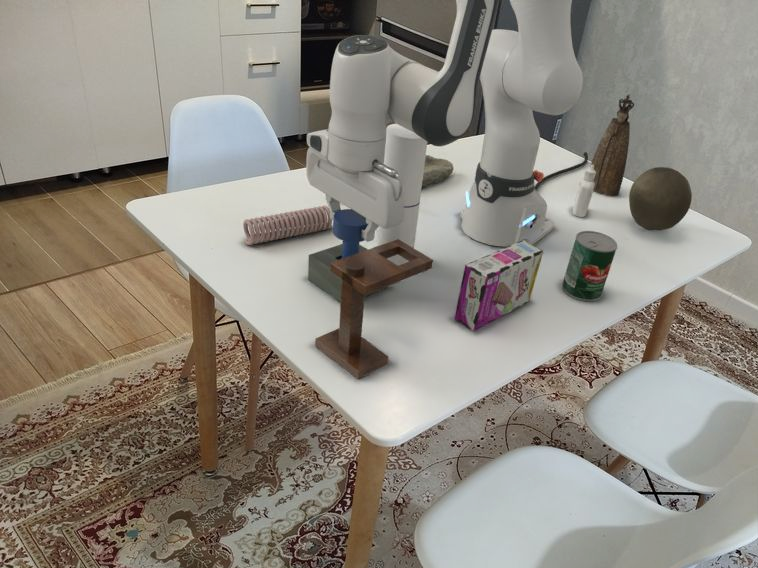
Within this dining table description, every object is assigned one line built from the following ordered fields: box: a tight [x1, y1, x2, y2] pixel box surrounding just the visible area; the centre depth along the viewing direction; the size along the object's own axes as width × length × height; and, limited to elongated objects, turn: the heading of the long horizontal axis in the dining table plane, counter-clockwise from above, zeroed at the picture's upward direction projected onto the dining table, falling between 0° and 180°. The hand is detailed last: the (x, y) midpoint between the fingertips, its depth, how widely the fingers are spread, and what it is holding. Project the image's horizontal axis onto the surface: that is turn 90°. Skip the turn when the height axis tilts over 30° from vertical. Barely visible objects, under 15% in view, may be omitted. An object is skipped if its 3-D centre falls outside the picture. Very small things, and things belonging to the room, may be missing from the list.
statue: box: [589, 94, 635, 197], centre depth 166 cm, size 9×8×25 cm
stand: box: [314, 239, 434, 380], centre depth 99 cm, size 15×10×16 cm
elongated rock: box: [422, 154, 454, 187], centre depth 153 cm, size 35×5×10 cm
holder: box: [307, 243, 389, 303], centre depth 115 cm, size 10×10×5 cm
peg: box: [332, 208, 368, 258], centre depth 113 cm, size 6×6×13 cm
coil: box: [242, 205, 333, 246], centre depth 126 cm, size 5×5×18 cm
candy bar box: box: [454, 240, 544, 332], centre depth 114 cm, size 11×5×16 cm
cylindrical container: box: [375, 123, 428, 266], centre depth 119 cm, size 7×7×25 cm
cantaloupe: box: [628, 166, 693, 232], centre depth 152 cm, size 14×14×15 cm
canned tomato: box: [561, 230, 618, 302], centre depth 125 cm, size 8×8×11 cm
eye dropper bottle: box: [572, 164, 596, 218], centre depth 155 cm, size 4×6×12 cm
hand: (351, 229), depth 110 cm, fingers open, 6 cm apart
